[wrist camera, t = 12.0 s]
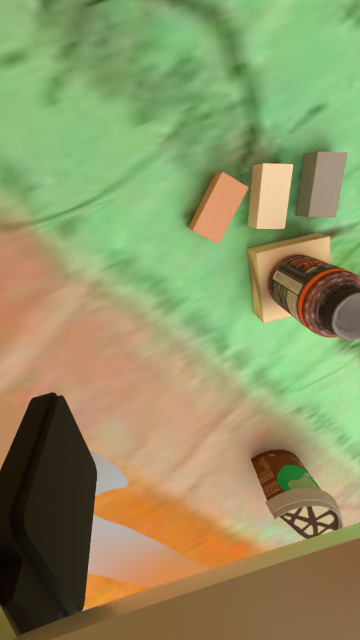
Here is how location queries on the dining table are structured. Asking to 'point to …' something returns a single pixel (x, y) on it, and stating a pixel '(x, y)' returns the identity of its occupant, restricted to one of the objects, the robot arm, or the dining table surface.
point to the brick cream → (269, 195)
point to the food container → (296, 494)
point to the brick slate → (320, 184)
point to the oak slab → (268, 257)
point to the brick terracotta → (218, 207)
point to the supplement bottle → (318, 295)
